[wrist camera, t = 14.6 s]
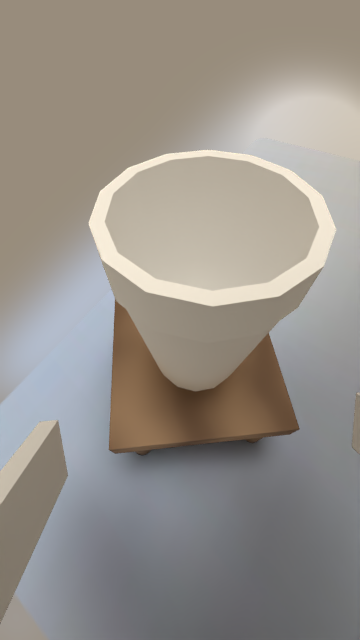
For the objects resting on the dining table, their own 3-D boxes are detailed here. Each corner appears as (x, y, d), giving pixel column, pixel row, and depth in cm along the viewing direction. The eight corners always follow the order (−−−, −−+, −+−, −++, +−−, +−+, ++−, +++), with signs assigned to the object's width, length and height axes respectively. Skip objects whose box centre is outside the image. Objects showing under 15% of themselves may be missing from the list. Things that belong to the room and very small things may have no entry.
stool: (238, 328, 32) (252, 284, 25) (268, 445, 25) (299, 429, 18) (129, 337, 31) (115, 295, 25) (129, 461, 24) (108, 449, 18)
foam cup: (113, 357, 21) (40, 215, 10) (188, 288, 25) (192, 132, 14) (206, 441, 18) (245, 364, 7) (277, 348, 22) (374, 202, 11)
